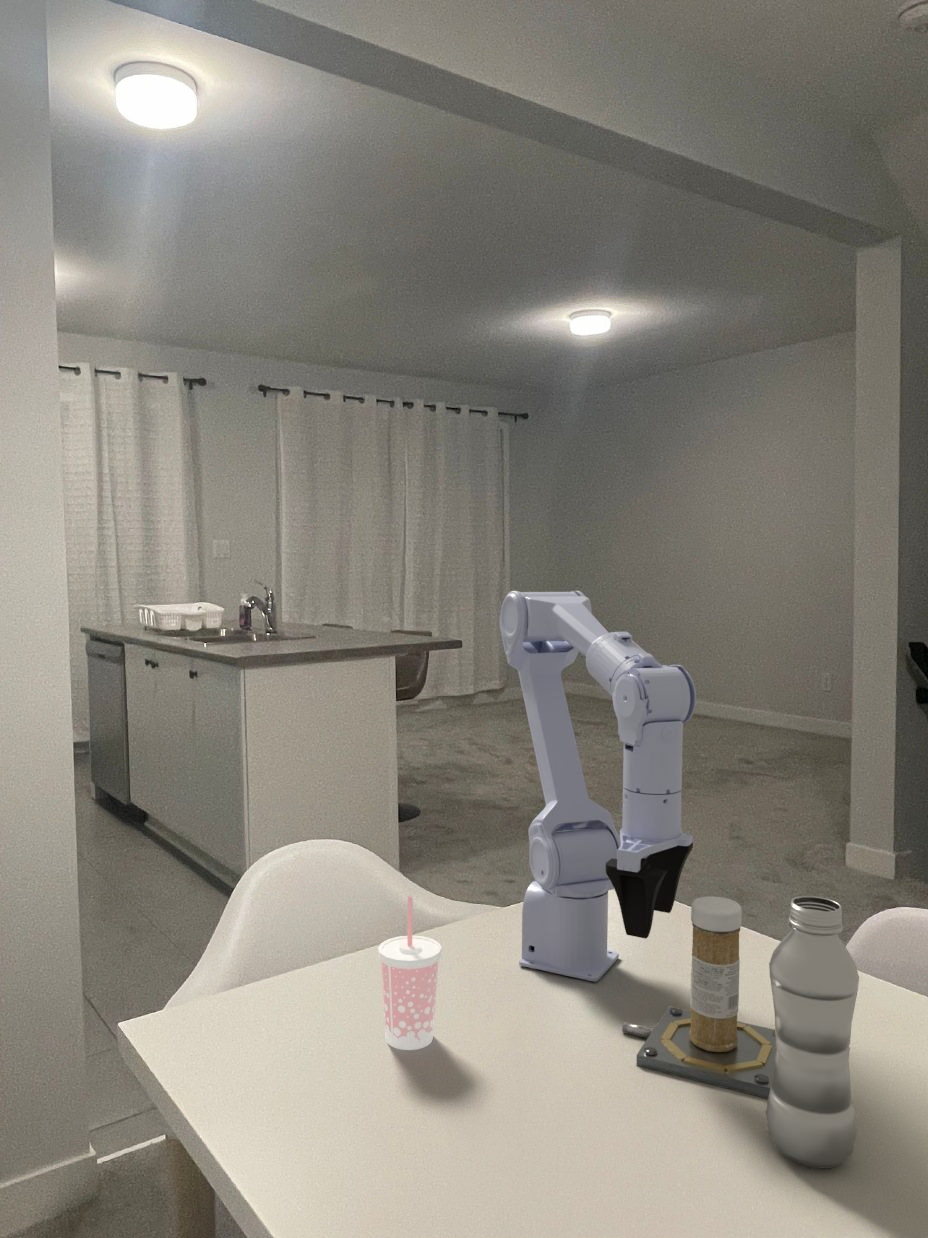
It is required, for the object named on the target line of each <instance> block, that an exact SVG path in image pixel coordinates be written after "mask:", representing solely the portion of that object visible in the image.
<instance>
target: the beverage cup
mask: <svg viewBox="0 0 928 1238" xmlns="http://www.w3.org/2000/svg"><path fill="white" fill-rule="evenodd" d="M413 899H414V897H413V896H412V895H408V896H407V935H401V936H399V935H398V936H395V937H392V938H388V939H386V940H384V941H383V942H381V943H380V944H379V946H378V947H377V951H378V959H379V961H380V963H381V964H380V965H381V966H380V967H381V977H382V979H381V983H382V984H381V985H382V999H383V1000H382V1001H383V1015H384V1016H383V1017H384V1034H385V1041H386V1044H388V1045H389V1046H390V1047H392V1048H395V1049H398V1050H405V1051H414V1050H420V1049H423V1048H425V1047H427V1046H428V1045H430V1044H431V1043H432V1041H433V1038H434V1033H435V1032H434V1031H435V1030H434V1029H435V1015H436V1004H437V1003H436V1001H437V988H438V985H437V984H438V971H439V961H440V960H441V957H442V949H443V948H442V945H441V944H440V942H439V941H437V940H435V939H434V938H431V937H427V936H422V935H413V915H414V913H413V912H414V911H413V905H414V904H413Z"/></svg>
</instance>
